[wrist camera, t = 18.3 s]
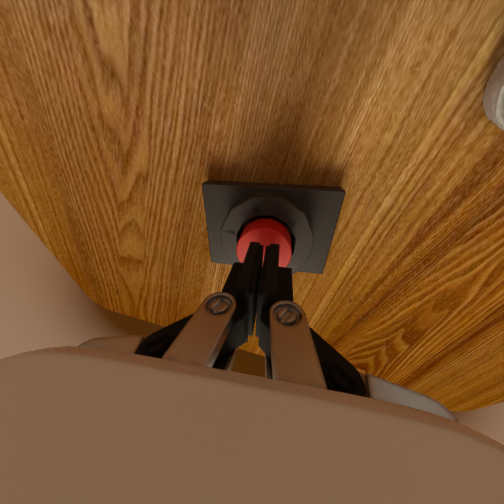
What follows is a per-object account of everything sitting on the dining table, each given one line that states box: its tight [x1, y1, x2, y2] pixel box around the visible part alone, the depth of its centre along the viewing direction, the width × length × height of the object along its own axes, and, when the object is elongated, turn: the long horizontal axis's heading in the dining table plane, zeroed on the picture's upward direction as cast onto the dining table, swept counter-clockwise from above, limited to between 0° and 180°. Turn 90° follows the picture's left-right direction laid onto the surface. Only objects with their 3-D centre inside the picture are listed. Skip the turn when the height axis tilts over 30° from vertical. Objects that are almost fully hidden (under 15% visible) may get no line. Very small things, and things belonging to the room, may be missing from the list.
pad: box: [202, 181, 345, 274], centre depth 14 cm, size 10×7×3 cm
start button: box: [236, 218, 292, 267], centre depth 13 cm, size 4×4×2 cm
